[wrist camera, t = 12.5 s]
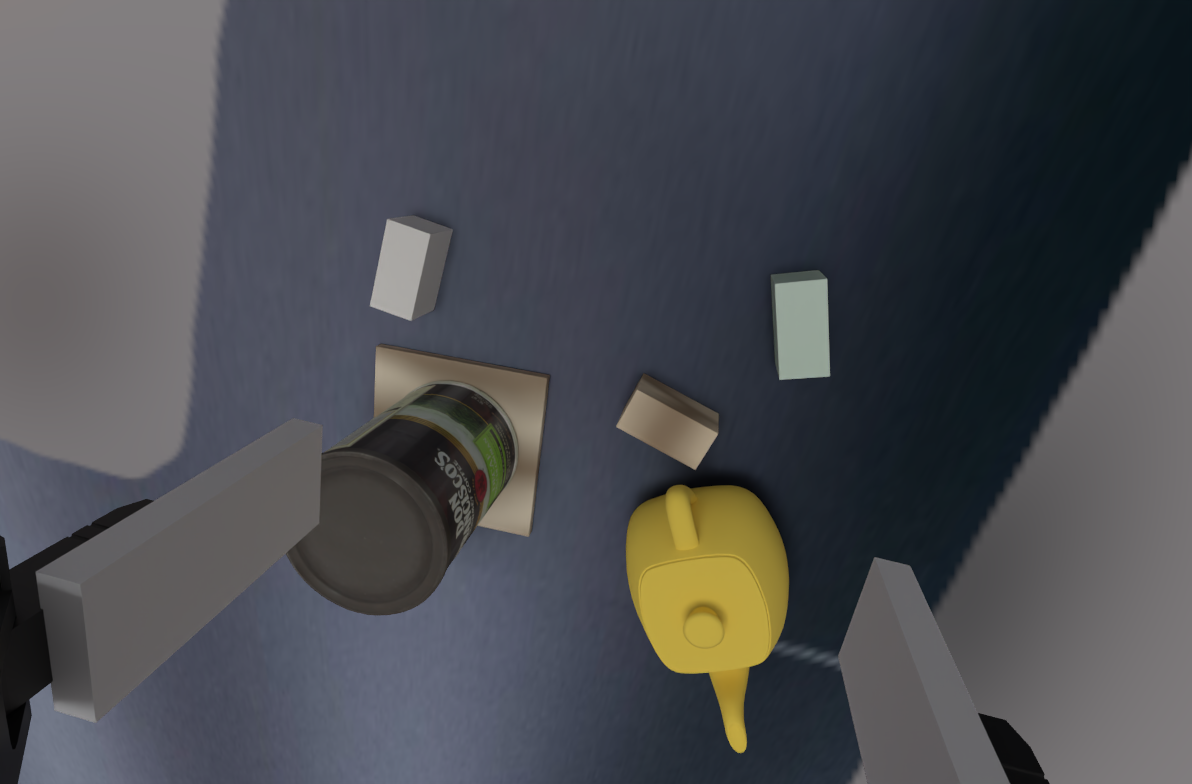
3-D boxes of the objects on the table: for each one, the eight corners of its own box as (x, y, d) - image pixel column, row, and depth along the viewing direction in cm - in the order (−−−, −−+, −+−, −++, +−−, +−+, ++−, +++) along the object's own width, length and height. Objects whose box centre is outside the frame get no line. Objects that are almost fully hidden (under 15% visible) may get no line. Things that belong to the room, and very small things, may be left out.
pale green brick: (770, 274, 45) (774, 283, 41) (818, 269, 44) (827, 278, 40) (775, 363, 46) (779, 379, 43) (821, 359, 46) (829, 376, 42)
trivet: (381, 343, 51) (376, 346, 50) (549, 375, 49) (547, 378, 48) (376, 498, 55) (371, 502, 54) (531, 531, 54) (528, 536, 53)
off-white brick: (413, 215, 48) (387, 218, 44) (453, 229, 47) (430, 234, 44) (396, 295, 50) (369, 306, 46) (434, 309, 49) (411, 320, 46)
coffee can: (506, 373, 49) (426, 447, 36) (529, 503, 52) (462, 616, 39) (375, 383, 51) (254, 457, 38) (404, 507, 54) (300, 616, 41)
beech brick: (624, 407, 49) (615, 426, 45) (643, 372, 48) (637, 389, 44) (697, 447, 49) (695, 469, 45) (718, 413, 48) (718, 433, 44)
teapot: (807, 641, 52) (827, 753, 42) (667, 658, 55) (655, 767, 45) (757, 425, 48) (766, 493, 38) (607, 455, 50) (579, 526, 40)
